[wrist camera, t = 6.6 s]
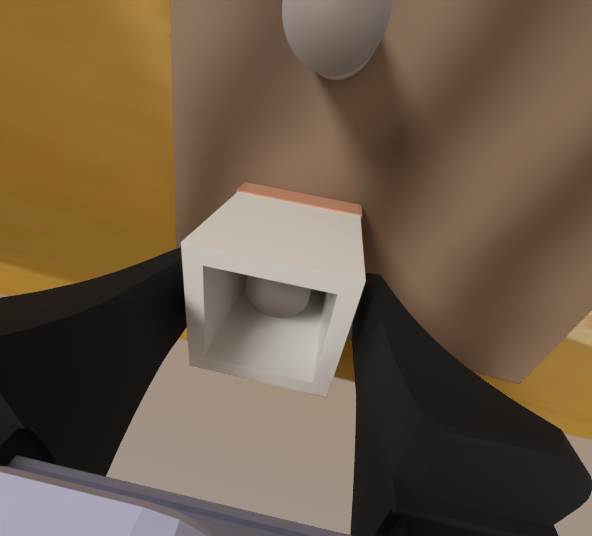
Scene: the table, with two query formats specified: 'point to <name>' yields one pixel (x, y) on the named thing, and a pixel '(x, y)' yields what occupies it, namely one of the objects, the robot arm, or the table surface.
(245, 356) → the sleeve
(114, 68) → the table surface
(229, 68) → the pin board
